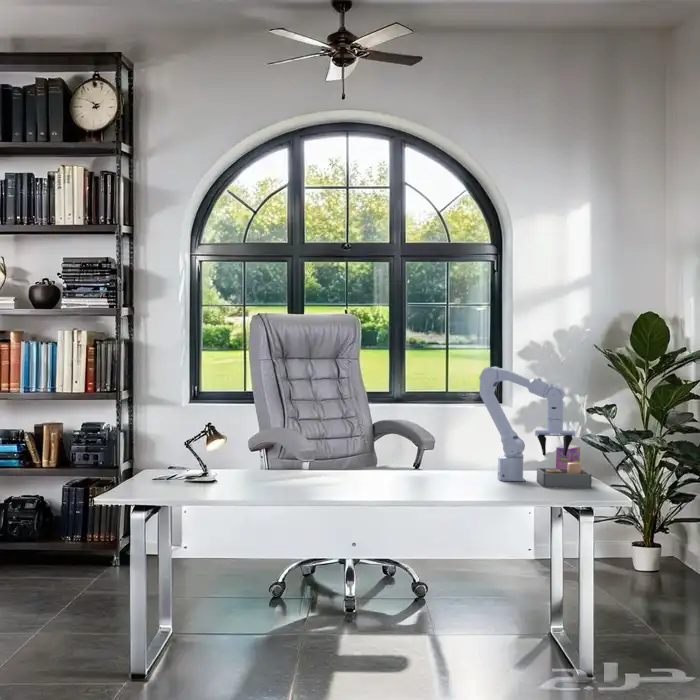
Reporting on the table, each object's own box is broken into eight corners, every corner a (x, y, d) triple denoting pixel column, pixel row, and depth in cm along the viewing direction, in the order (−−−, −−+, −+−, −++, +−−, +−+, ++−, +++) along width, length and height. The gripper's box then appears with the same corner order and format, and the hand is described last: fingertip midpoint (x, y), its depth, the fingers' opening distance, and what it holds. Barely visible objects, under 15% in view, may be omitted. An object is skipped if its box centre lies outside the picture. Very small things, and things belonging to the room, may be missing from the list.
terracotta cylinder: (567, 482, 335) (567, 464, 334) (566, 480, 340) (567, 461, 339) (581, 483, 334) (581, 464, 333) (580, 480, 339) (580, 462, 338)
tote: (543, 487, 328) (543, 473, 328) (536, 481, 341) (536, 468, 341) (591, 488, 327) (591, 474, 327) (582, 482, 341) (582, 468, 340)
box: (569, 478, 348) (569, 448, 348) (555, 477, 352) (555, 446, 351) (579, 475, 356) (580, 445, 356) (566, 474, 360) (566, 444, 360)
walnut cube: (547, 485, 329) (548, 471, 329) (545, 482, 334) (545, 469, 334) (561, 485, 329) (561, 471, 329) (558, 483, 334) (558, 469, 334)
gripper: (537, 419, 333) (537, 456, 333) (577, 420, 333) (576, 457, 333) (534, 417, 340) (533, 453, 340) (572, 418, 340) (572, 454, 340)
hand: (554, 455), depth 337 cm, fingers open, 7 cm apart
